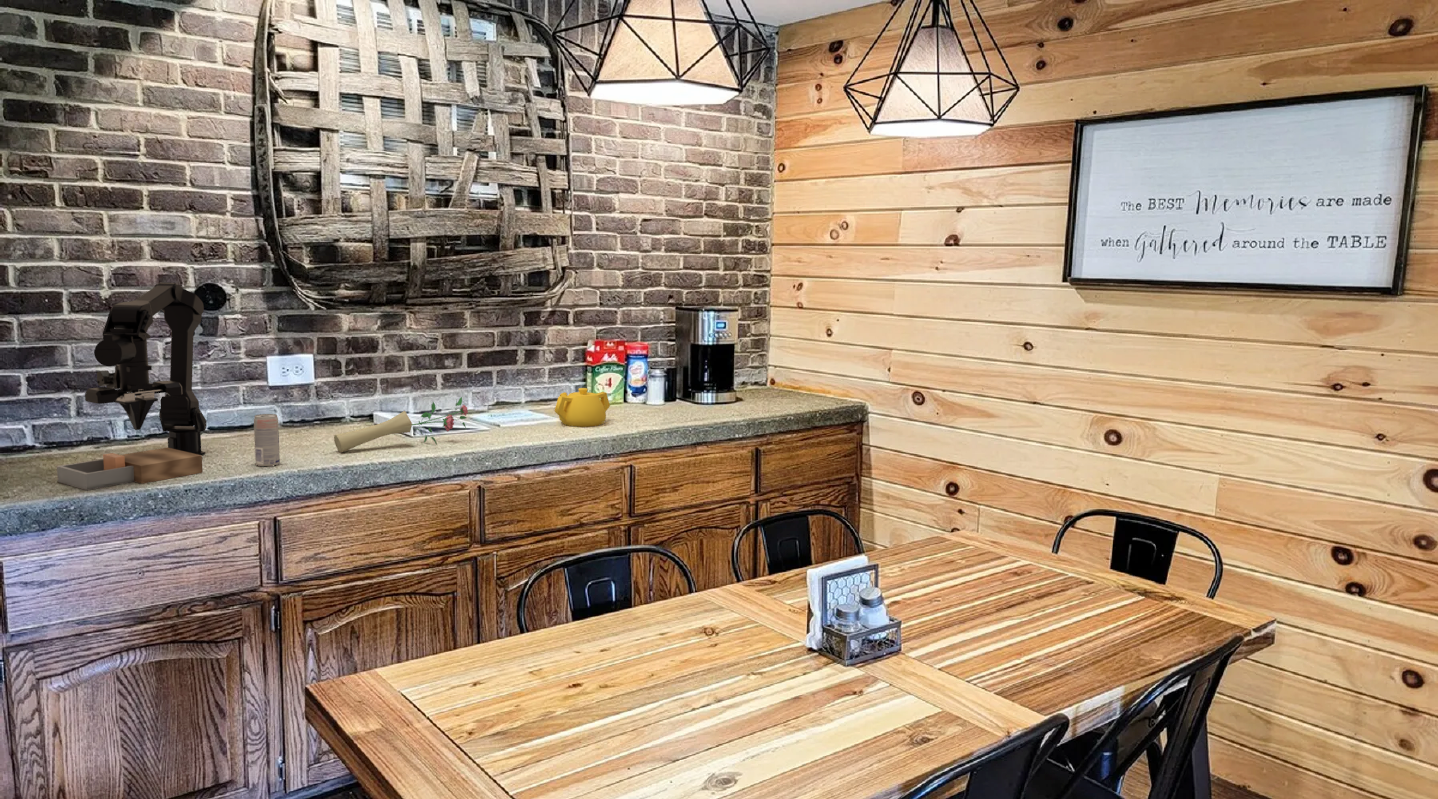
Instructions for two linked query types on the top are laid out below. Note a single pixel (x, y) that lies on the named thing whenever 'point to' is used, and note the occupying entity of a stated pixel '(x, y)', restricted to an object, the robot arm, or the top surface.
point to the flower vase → (392, 428)
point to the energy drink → (266, 440)
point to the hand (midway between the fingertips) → (137, 429)
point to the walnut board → (162, 464)
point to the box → (93, 475)
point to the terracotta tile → (113, 461)
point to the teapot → (582, 408)
